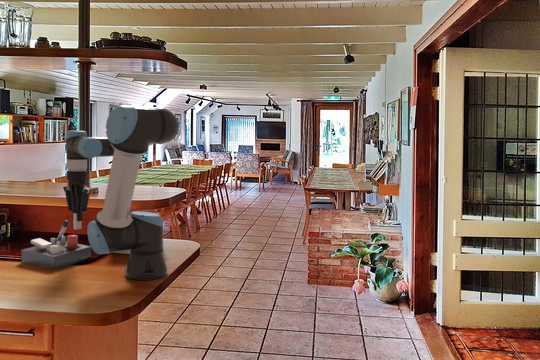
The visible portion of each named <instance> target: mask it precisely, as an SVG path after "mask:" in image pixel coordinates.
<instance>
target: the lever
mask: <svg viewBox="0 0 540 360" xmlns="http://www.w3.org/2000/svg"><path fill="white" fill-rule="evenodd" d="M61 225H62V226H61V229H60V231H59V233H58V235H57V238H56V239H57V241H61V239H62V237H63V236H64V235H65V232H66V230H67V228H68V227H69V226H70V221H69V220H67V219H65V220H63V221H62V222H61Z"/></svg>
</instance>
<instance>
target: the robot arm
mask: <svg viewBox="0 0 540 360" xmlns="http://www.w3.org/2000/svg"><path fill="white" fill-rule="evenodd" d="M105 129H106V131H105V134H106V137H105V136H101V137H100V136H88V133H87V131H85V130H67V131H66V134H65V136H66V137H65V145H66V146H65V150H66V153H65V154H66V158H65V159H66V160H65V161H66V162H65V166H66V170H67V171H66V180H67V181H68V182H67V185H65V186H63V187H62V188H63V191H64V193H65V199H66V204H67V211H71V214H72V215H71V216H72V222H73V225H72V226H73V230H75V231H76V230H81V229H83V228H82V222H83V213H85V212H87V211H88V210H87V209H88V205H89V198H90V194H91V192H92V188H89V187H87V183H86V181H87V180H88V170H87V169H88V159H90V158H92V159H94V158H101V157H102V158H105V157H112V160H111V166H110V171H109V175H108V181H107V186H106V192H105V197H104V202H103V207H102V209H101V210H99V211H98V212H97V214H96V218H95V220H91V221H90V222H88V224H87V229H86V231H87V232H86V233H87V239H88V243H89V246H91V250H92V251H93V252H94V253H95V254H98V255H109V254H112V253H114V252H119V251H125V250H130V254H129V258H128V260H127V264H126V267H125V277H126V278H127V279H131V280H136V281H151V280H157V279H161V278H164V277H165V276H167V275H168V266H167V264H166V259H165V257H164V254H163V251H164V218H163V217H162V215H160V214H158V213H154V212H150V211H149V212H148V211H132V212H130V211H131V210H130V209H131V206H132V202H133V201H132V200H133V197H134V191H135V187H136V182H137V179H138V175H139V174H138V173H139V171H140V170H139V169H140V165H141V160H142V156H143V155H145V154H147V153H148V151H149V146H152V145H155V144H157V145H165V144H167V143H170V142H171V141H173V140H175V139H176V138H177V137H178V135H179V132H180V124H179V120H178V118H177V116H176V115H175V114H174V113H173V112H172V111H170V110H168V109H167V108H164V107H158V106H155V107H154V106H140V105H132V104H126V105H117V106H115V107H113V108H112V110H111V111H110V112H109V114H108V116H107V118H106V124H105ZM162 218H163V219H162Z"/></svg>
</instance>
